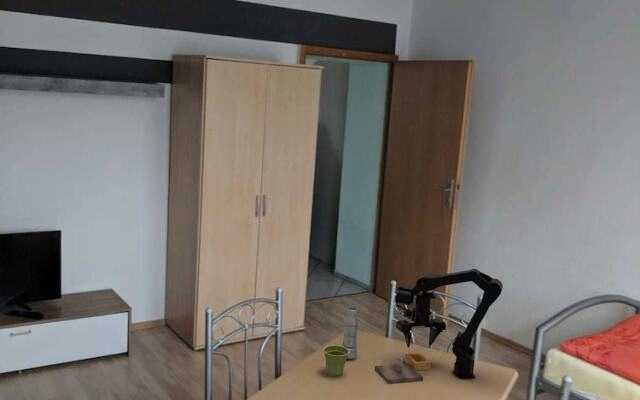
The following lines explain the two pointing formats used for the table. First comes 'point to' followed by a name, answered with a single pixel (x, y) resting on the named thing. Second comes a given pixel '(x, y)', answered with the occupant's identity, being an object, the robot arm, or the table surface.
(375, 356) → the table surface
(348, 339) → the plastic bottle
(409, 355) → the tan rectangular frame
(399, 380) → the keeper board
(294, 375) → the table surface
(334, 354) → the plant pot
